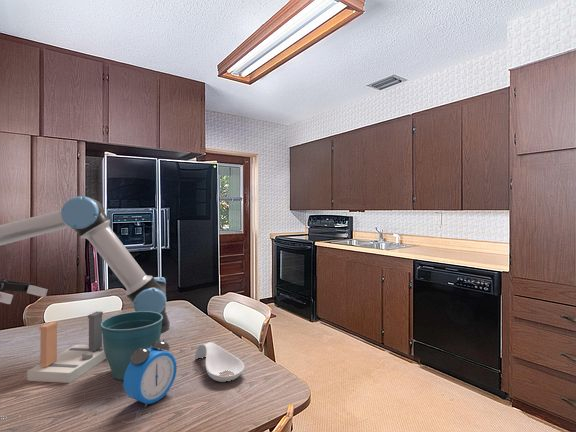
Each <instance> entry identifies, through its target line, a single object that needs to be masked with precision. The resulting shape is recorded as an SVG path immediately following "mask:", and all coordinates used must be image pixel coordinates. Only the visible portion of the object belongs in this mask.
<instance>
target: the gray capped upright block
mask: <svg viewBox="0 0 576 432" xmlns="http://www.w3.org/2000/svg"><path fill="white" fill-rule="evenodd" d="M103 314H104V311H95V312H92V313H89V314H88V315H87V319H88V345H89V351H96V350H97V349H99V348H101V347H102V346H103V335H102V327H101V323H102V322H103Z"/></svg>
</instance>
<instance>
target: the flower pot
mask: <svg viewBox="0 0 576 432" xmlns="http://www.w3.org/2000/svg"><path fill="white" fill-rule="evenodd" d="M162 320H163V316H162V315H161V314H160V313H157V312H150V311H138V312H136V311H130V312H124V313H120V314H119V313H118V314H115V315H112V316H109V317H108V318H106V319H104V320H102V323H101V327H102V346H104V352H105V355H106V361H107V363H108V364H109V367H110V373H111V377H112V378H113V379H116V380H120V381H121V380H122V381H124V375H125V372H126V369H127V367H128V365H129V363H130V362H131V361H130V358H131V355H132V354H133V352H134V351H135V350H137V349H139V348H149V347H151V346H152V345H153V344H154V343H155V342H156V341H159V340H161V335H162V333H161V327H162ZM152 348H155V347H152ZM156 349H159V348H156Z"/></svg>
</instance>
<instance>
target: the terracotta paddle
mask: <svg viewBox="0 0 576 432" xmlns="http://www.w3.org/2000/svg"><path fill="white" fill-rule="evenodd" d="M58 326H59V322H58V321H50V322H48V323H44V324H43V325H40V326H39V331H40V346H39V347H40V350H39V351H40V354H39V356H40V363H39V364H40V366H41V367H47V366H49V365H50V364H52V363H54V362H56V361H57V355H58V346H57V345H58V344H57V343H58V336H57V335H58Z"/></svg>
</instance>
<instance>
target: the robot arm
mask: <svg viewBox="0 0 576 432" xmlns="http://www.w3.org/2000/svg"><path fill="white" fill-rule="evenodd" d="M110 222H111V219H110V218H109V217H108V216H107V214H106V213H105V208H104V206H103V205H102V203H101V202H100V201H99V200H97V199H95V198H92V197H88V196H84V195H78V196H73V197H71V198H70V199H68V200H67V201H65V202H64V204H63V205H62V207H61V209H60V210H56V211H52V212H48V213H44V214H40V215H36V216H32V217H29V218H23V219H20V220H16V221H11V222H8V223H4V224H0V246H3V245H7V244H11V243H14V242H15V243H16V242H20V241H22V240H27V239H30V238H34V237H38V236H42V235H45V234H48V233H49V234H50V233H54V232H58V231H61V230H65V229H67V228H68V229H71V230H74V231H75V233H76V234H77V235H78V236H79V238H81V239H86V240H88V241H89V243H90V244H91V245H92V247H93V248H94V250H96V252H97V253H98V254H99V256H100V257H101V258H102V260H103V261H104V262H105V263H106V265H107V266H108V267H109V268H110V269H111V271H112V272H113V273H114V275H115V277H117V279H118V280H119V281H120V283H121V284H122V285H123V286H124V288H125V289H126V291H125V296H126V297H127V299H128V300H129V301H130V302H131V304H132V306H133V309H134V312H138V311H150V312H157V313H160V314H161V315H162V316H163V320H162V327H161V332H162V333H165V332H166V331H168V330H169V329H170V328H169V327H171V326H170V319H169V317H168V314H167V312H166V308H167V307H166V305H167V300H168V299H167V293H166V288H167V287H166V284H167V282H166V278H165V277H163V276H156V277H153V275H147V274H146V273H145V271H144V270H143V269H142V267H141V266H140V264H138V262H137V261H136V260H135V258H134V257H133V255H132V254H131V253H130V251H129V250H128V249H127V248H126V247H125V245H124V244H123V242H122V241H121V240H120V239H119V237H118V236H117V234H116V233H115V232H114V231H113V229H112V228H111V227H110V224H111V223H110ZM48 290H49V289H47V288H43V287H40V286H36V285H35V283H33V282H32V281H31V282H24V281H18V280H9V279H4V278H1V279H0V303H2V304H6V305H11V304H12V300H13V298H14V294H11V293H6V292H5V291H9V292H23V293H26V294H29V295H34V296H38V297H42V298H46V297H47V293H48Z"/></svg>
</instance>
